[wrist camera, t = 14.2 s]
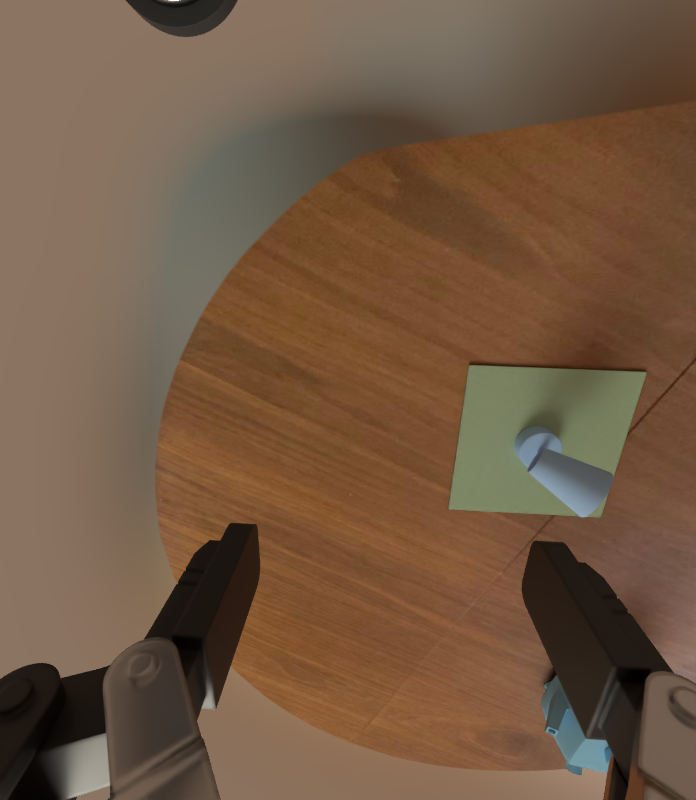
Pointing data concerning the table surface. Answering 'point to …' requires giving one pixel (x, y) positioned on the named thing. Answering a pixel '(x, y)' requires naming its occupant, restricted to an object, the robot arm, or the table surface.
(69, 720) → the robot arm
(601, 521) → the table surface
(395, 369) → the table surface
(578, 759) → the teapot
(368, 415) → the table surface
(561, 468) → the spotlight
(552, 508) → the mat
